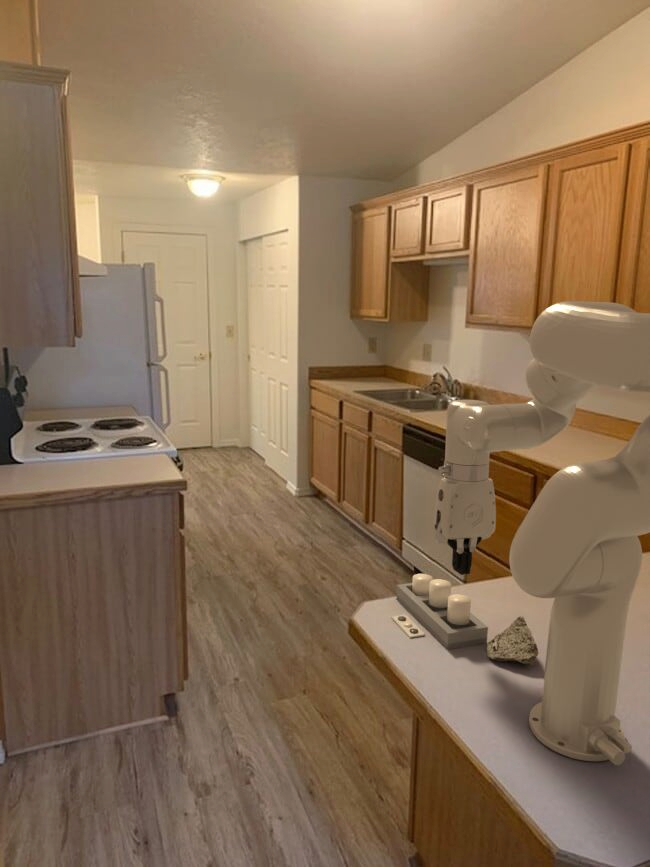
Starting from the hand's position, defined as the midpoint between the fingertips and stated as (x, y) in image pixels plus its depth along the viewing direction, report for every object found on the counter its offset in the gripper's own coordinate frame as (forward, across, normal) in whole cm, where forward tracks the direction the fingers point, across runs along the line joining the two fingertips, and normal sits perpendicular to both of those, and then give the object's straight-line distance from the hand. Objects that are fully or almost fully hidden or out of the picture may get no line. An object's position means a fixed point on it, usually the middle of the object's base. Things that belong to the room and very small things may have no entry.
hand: (461, 571), depth 115 cm
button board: (+12, 0, +7) cm, 14 cm away
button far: (+11, 0, +14) cm, 18 cm away
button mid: (+9, 0, +7) cm, 12 cm away
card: (+12, -7, +6) cm, 16 cm away
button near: (+9, 0, 0) cm, 9 cm away
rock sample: (+13, +5, -9) cm, 17 cm away
